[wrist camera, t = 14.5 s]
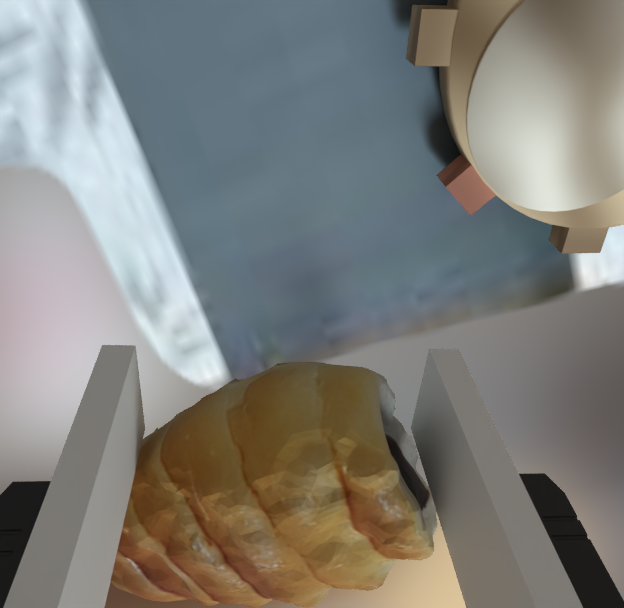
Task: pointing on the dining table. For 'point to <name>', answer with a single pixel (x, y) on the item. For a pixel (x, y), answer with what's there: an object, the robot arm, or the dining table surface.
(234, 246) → the dining table surface
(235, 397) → the pastry
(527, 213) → the turntable
